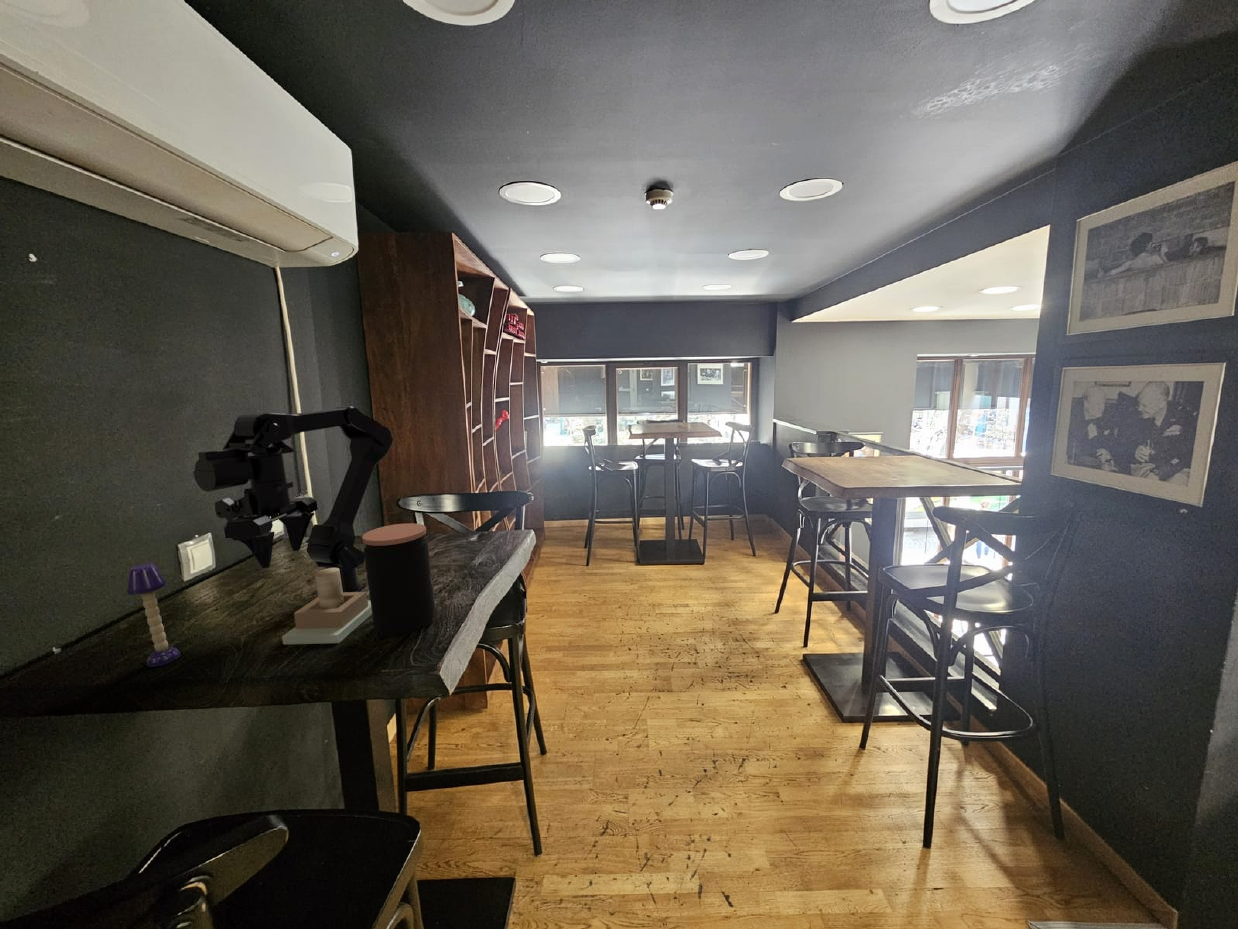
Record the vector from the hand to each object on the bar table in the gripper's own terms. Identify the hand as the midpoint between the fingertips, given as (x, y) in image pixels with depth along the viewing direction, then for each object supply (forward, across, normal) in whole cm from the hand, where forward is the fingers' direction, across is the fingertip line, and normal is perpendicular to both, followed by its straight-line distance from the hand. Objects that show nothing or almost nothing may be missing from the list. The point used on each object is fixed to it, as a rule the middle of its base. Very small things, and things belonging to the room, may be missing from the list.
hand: (281, 558), depth 95 cm
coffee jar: (+12, +6, +24) cm, 28 cm away
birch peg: (+11, +4, +11) cm, 16 cm away
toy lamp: (+12, +14, -13) cm, 22 cm away
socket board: (+12, +4, +11) cm, 17 cm away
